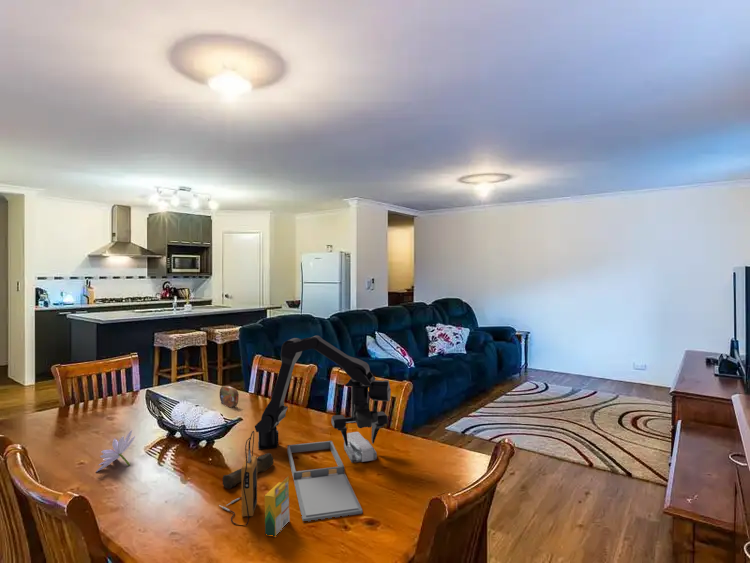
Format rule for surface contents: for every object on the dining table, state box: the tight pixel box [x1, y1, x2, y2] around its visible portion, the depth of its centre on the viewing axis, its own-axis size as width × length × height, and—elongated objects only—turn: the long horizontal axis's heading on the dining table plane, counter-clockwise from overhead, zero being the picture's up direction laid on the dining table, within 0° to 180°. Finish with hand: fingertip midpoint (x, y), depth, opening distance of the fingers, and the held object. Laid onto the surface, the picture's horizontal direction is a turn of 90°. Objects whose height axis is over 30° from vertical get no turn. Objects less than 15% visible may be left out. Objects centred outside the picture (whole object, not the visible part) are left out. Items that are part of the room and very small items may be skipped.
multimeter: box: [218, 430, 258, 526], centre depth 120 cm, size 15×10×20 cm
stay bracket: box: [343, 439, 378, 463], centre depth 157 cm, size 8×12×2 cm
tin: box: [219, 385, 239, 408], centre depth 213 cm, size 15×3×8 cm, turn 43°
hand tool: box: [222, 452, 274, 489], centre depth 140 cm, size 19×4×5 cm, turn 146°
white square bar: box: [347, 431, 374, 463], centre depth 157 cm, size 4×16×4 cm, turn 21°
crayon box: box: [264, 475, 290, 537], centre depth 112 cm, size 7×3×12 cm, turn 163°
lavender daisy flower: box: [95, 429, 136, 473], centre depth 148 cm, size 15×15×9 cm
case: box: [286, 440, 363, 522], centre depth 139 cm, size 15×45×2 cm, turn 16°
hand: (359, 444), depth 157 cm, fingers open, 9 cm apart
